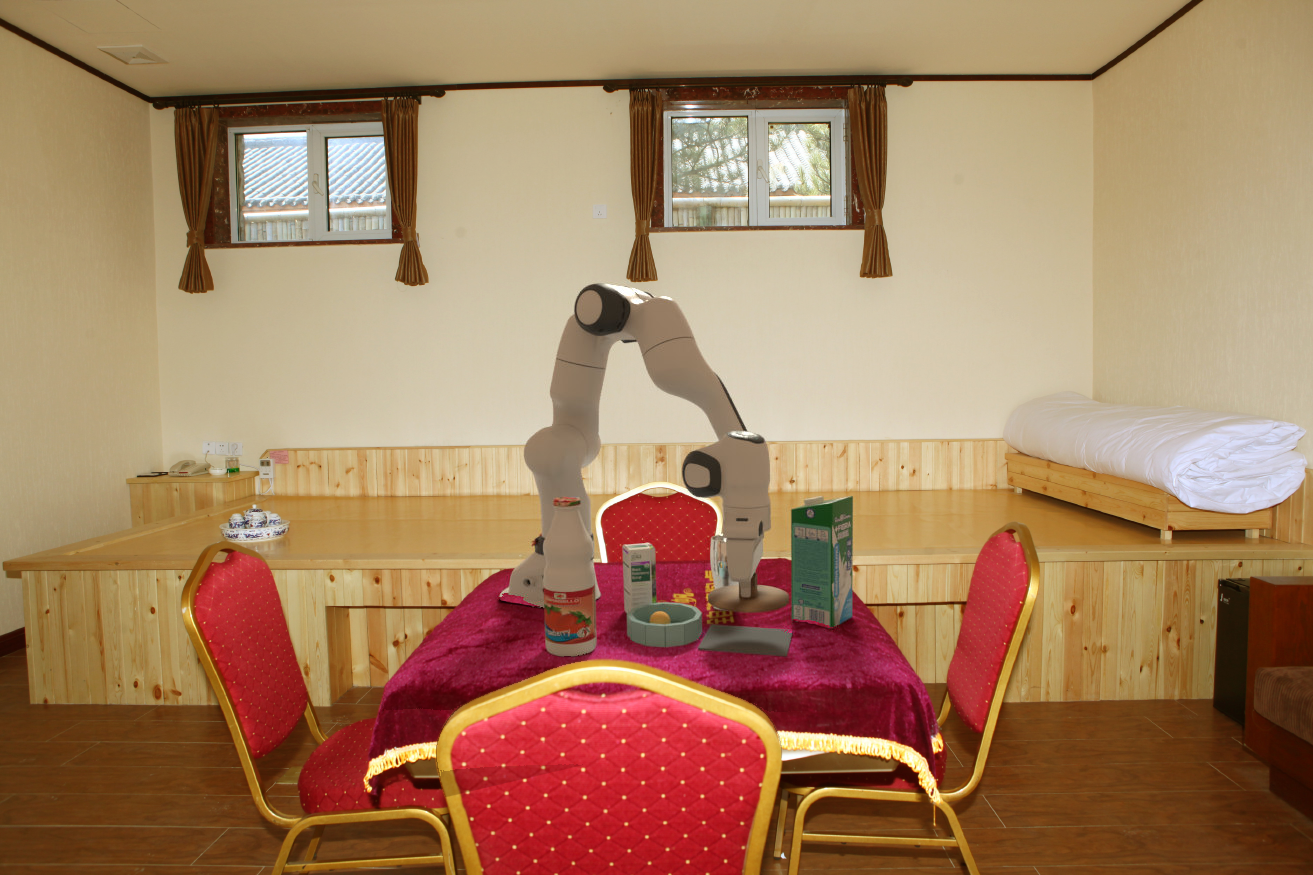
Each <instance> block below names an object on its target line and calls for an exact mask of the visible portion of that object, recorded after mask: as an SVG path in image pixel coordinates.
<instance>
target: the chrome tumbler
mask: <svg viewBox="0 0 1313 875" xmlns="http://www.w3.org/2000/svg"><path fill="white" fill-rule="evenodd" d="M726 539H727V538H723V535H722V534H716V535H713V536H711V537H710V549H709V551H710V552H709V554H710V555H709V556H710V557H709V558H710V561H709V562H710V569H711V576H712V579H713V586H714V590H715V589H717V588H721V587H725V586H731V585H739V582H733V581H731V580H730V577H729V572H728V563H727V552H726ZM712 608H713V609H715V610H717V611H721V612H728V611H727V610H722V609H719V608H716V607H714V606H712Z"/></svg>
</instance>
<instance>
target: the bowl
mask: <svg viewBox="0 0 1313 875" xmlns="http://www.w3.org/2000/svg"><path fill="white" fill-rule="evenodd" d="M658 611H662V612H665V613H666V614H667V615H668V616H669V618H670V624H653V623H650V618H651V616H652V615H653V614H654V613H655V612H658ZM701 633H702V634H703V613H702V611H700V610H699V608H697V607H696V606H693V605H690V604H686V603H682V602H669V601H667V602H665V601H663V602H657V603H651V604H644V605H641V606H638V607H635V608H632V609H631V610H630V611H629V612H628V614H627V613H626V634H627V637H628V638H629V637H630V638H629V640H630V641H631V640H632V641H631V642H633V641H634V642H633V643H636V644H639V645H641V646H645V647H658V648H670V647H680V646H686V645H689V644H691V643H694V642H696V641H698V640H700V638H701V636H702V634H701ZM700 635H701V636H700ZM699 637H700V638H699ZM697 639H698V640H697Z"/></svg>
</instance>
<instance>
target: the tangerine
mask: <svg viewBox="0 0 1313 875" xmlns="http://www.w3.org/2000/svg"><path fill="white" fill-rule="evenodd" d="M650 623H653V624H670V618H669V616H668V615H667V614H666V613H665V612H662V611H658V612H655V613H654V614H653V615H652V616H651V618H650Z"/></svg>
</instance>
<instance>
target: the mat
mask: <svg viewBox="0 0 1313 875" xmlns="http://www.w3.org/2000/svg"><path fill="white" fill-rule="evenodd" d="M782 630H783V631H782ZM785 630H787V631H785ZM788 630H789V629H787V628H783V629H782V628H770V627H768V628H767V627H758V626H757V627H755V626H754V627H753V626H743V625H742V626H741V625H739V626H738V625H726V624H710V625H709V628H708V629H707V630H706V633H705V635H704V636H703V638H702V640H701V642H700V643H699V645H698V646H697V650H698V651H709V652H710V651H711V652H722V653H736V654H746V655H747V654H748V655H759V656H760V655H761V656H775V657H776V656H777V657H785V658H786V657H788V653H789V649H790V646H791V642H792V638H793V634H792V633H789V632H788ZM784 631H785V632H784ZM787 632H788V633H787ZM791 637H792V638H791Z"/></svg>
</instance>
